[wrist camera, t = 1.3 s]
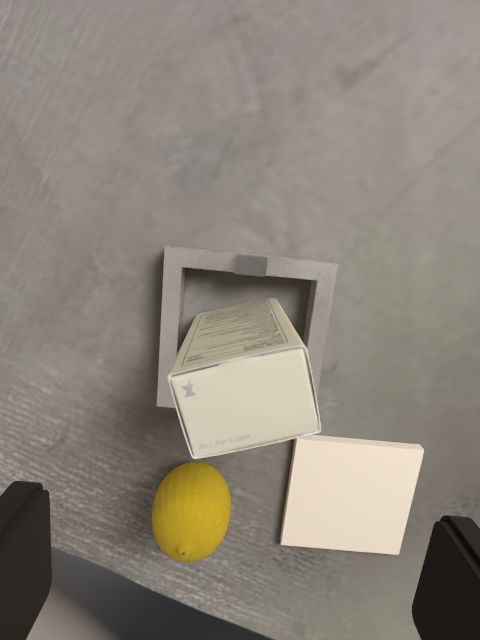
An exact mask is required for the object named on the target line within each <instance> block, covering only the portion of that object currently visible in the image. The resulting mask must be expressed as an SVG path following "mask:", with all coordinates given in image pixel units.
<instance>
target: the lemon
mask: <svg viewBox="0 0 480 640" xmlns="http://www.w3.org/2000/svg"><path fill="white" fill-rule="evenodd" d="M230 513H231V499H230V493H229V490H228V486H227V483H226V481H225V480H224V478H223V477H222V475H221V474H220V473H219V472H218V471H217V470H216V469H215V468H214V467H212V466H210V465H208V464H205V463H202V462H188V463H184V464H182V465H180V466H177V467H176V468H175V469H173V470H172V471H171V472H169V473H168V475H167V476H166V477H165V478H164V480H163V481H162V482H161V484H160V486H159V488H158V490H157V493H156V495H155V498H154V502H153V509H152V528H153V533H154V537H155V540H156V541H157V543H158V545H159V547H160V548H161V550H162V551H163V552H164V553H165V554H166V555H168V556H169V557H171V558H172V559H175V560H177V561H182V562H194V561H198V560H201V559H203V558H205V557H207V556H209V555H210V554H211V553H212V552H213V551H214V550H215V549H216V548H217V547H218V545H219V544H220V542H221V541H222V539H223V537H224V535H225V532H226V529H227V526H228V523H229V519H230Z"/></svg>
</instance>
